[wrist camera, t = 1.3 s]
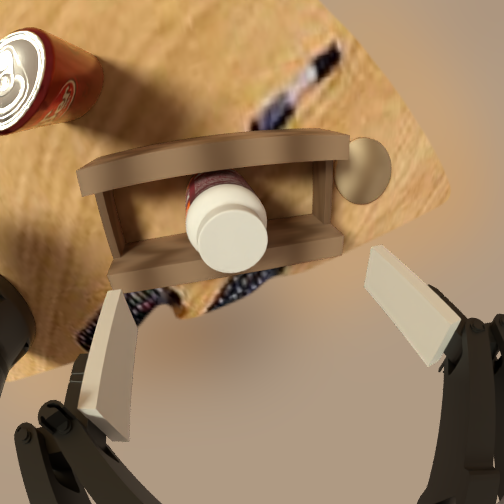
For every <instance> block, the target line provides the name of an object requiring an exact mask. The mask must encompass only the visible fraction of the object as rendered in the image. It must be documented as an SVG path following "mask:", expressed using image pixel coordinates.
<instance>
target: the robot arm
mask: <svg viewBox="0 0 504 504" xmlns="http://www.w3.org/2000/svg"><path fill="white" fill-rule="evenodd" d="M364 288H365V289H366V290H367V291H368V292H369V294H370V295H371V296H372V297H373V298H374V299H375V301H376V302H377V303H378V304H379V305H380V307H381V308H382V309H383V310H384V312H385V313H386V314H387V315H388V316H389V318H390V319H391V320H392V321H393V322H394V324H395V325H396V326H397V328H399V330H400V331H401V333H402V334H403V335H404V336H405V338H406V339H407V340H408V341H409V343H410V344H411V345H412V347H413V348H414V349H415V351H416V352H417V353H418V354H419V356H420V357H421V358H422V360H423V361H424V362H425V364H426V365H427V366H430V365H432V364H434V363H436V362H438V361H439V359H440V358H441V356H442V354H443V353H444V354H445V355H446V358H445V360H444V361H443V363H442V365H441V366H440V368H439V372H440V371H441V370H442V368H443V367H444V371H443V373H444V386H443V400H442V410H441V420H440V426H439V434H438V440H437V446H436V451H435V456H434V461H433V466H432V470H431V474H430V479H429V482H428V485H427V488H426V490H425V491H424V492H423V494H422V495H421V496H420V498H419V500H418V502H417V504H496V500H497V495H498V497H499V500H500V502H498V503H497V504H504V314H497V315H496V316H495V318H494V319H493V321H492V322H491V323H485V324H484V323H483V322H482V321H481V320H479V319H476V318H469V319H467V318H466V317H465V316H464V315H463V314H462V313H461V312H460V311H459V309H457V307H455V305H454V304H453V303H451V302H449V300H448V299H447V298H446V297H444V295H443V294H442V293H441V292H440V291H439V290H438V289H437V288H435V287H433V286H431V285H427V284H425V283H424V282H423V281H422V280H421V279H420V278H419V277H418V276H417V275H416V274H415V273H414V272H413V271H411V270H410V269H409V268H408V267H407V266H406V265H405V264H404V263H403V262H401V261H400V260H399V259H398V258H397V257H396V256H394V255H393V254H392V253H391V252H390V251H389V250H388V249H386V248H385V247H384V246H383V245H377V246H372V247H371V250H370V257H369V263H368V268H367V273H366V279H365V284H364ZM137 333H138V328H137V326H136V324H135V321H134V319H133V317H132V314H131V312H130V310H129V307H128V305H127V302H126V300H125V297H124V295H123V292H122V290H121V289H118V290H111V291H107V294H106V297H105V300H104V303H103V306H102V310H101V313H100V316H99V319H98V323H97V326H96V329H95V333H94V337H93V340H92V344H91V348H90V352H89V354H80V355H79V356H78V358H77V359H76V361H75V362H74V365H73V369H72V372H71V373H72V375H71V376H70V383H69V385H68V389H67V393H66V398H65V403H64V405H63V404H62V403H61V402H59V401H57V400H50V401H48V402H46V403H45V404H44V405H43V406H42V407H41V408H40V410H39V413H38V421H39V424H40V425H41V426H42V427H40V428H35V427H34V426H33V425H32V424H30V423H27V422H26V423H22V424H21V425H19V426H18V427H17V429H16V431H15V434H14V440H15V446H16V451H17V456H18V461H19V466H20V470H21V474H22V477H23V482H24V485H25V489H26V492H27V495H28V498H29V501H30V504H91V502H90V500H89V498H88V495H87V493H86V491H85V489H86V490H87V492H88V493H89V494H90V496H91V497H92V498H93V500H94V501H95V502H96V504H161V503H160V502H159V501H158V500H157V499H156V498H155V497H154V496H153V495H152V494H151V493H150V492H149V491H148V490H147V489H146V488H145V487H144V486H143V485H142V484H141V483H140V482H139V481H138V480H137V479H136V477H135V476H133V474H132V473H131V472H130V471H129V470H128V469H127V468H126V466H125V465H124V464H123V463H122V462H121V461H120V459H119V458H118V457H117V456H116V455H115V453H114V452H113V451H112V450H111V448H110V447H109V446H108V445H107V444H106V436H107V437H108V438H109V439H111V440H112V441H123V442H129V431H130V407H131V390H132V379H133V368H134V358H135V349H136V341H137ZM35 334H36V327H35V322H34V318H33V316H32V313H31V311H30V309H29V307H28V305H27V304H26V302H25V301H24V299H23V298H22V296H21V295H20V294H19V293H18V291H17V290H16V289H15V288H14V287H13V286H12V285H11V284H10V283H9V282H8V281H7V280H6V279H4V278H3V277H2V276H0V396H1V393H2V390H3V386H4V383H5V380H6V377H7V375H8V372H9V370H10V369H11V368H12V367H13V366H14V365H15V364H16V363H17V362H18V361H19V360H20V359H21V358H22V357H23V356H24V355H25V354H26V352H27V351H28V350H29V349H30V347H31V345H32V342H33V340H34V338H35ZM499 351H500V352H501V356H500V358H499V359H497V357H496V355H497V354H498V352H499ZM493 458H494V461H495V468H494V467H493ZM84 488H85V489H84Z"/></svg>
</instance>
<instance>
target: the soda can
mask: <svg viewBox="0 0 504 504" xmlns="http://www.w3.org/2000/svg"><path fill="white" fill-rule="evenodd" d="M103 82H104V74H103V68H102V66H101V64H100V62H99V60H98V59H97V58H96V57H95V56H94V55H92V54H91V53H89V52H87V51H85V50H83V49H81V48H79V47H77V46H75V45H73V44H71V43H69V42H67V41H65V40H63V39H61V38H59V37H57V36H54V35H52V34H50V33H48V32H46V31H43V30H41V29H38V28H35V27H27V28H23V29H19V30H16V31H14V32H12V33H10V34H9V35H7V36H6V37H5V38H3V39H2V40H1V41H0V136H3V135H9V134H13V133H17V132H20V131H25V130H29V129H33V128H38V127H42V126H47V125H52V124H58V123H63V122H69V121H73V120H75V119H77V118H80V117H81V116H83V115H84V114H86V113H87V112H88V111H89V110H90V109H91V108H92V106H93V105H94V104H95V103H96V101H97V99H98V97H99V96H100V93H101V90H102V87H103Z"/></svg>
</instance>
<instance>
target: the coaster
mask: <svg viewBox="0 0 504 504" xmlns="http://www.w3.org/2000/svg"><path fill="white" fill-rule="evenodd" d="M390 176H391V160H390V157H389V154H388V152H387V150H386V149H385V147H384V146H383V145H382V144H381V143H379V142H378V141H376V140H374V139H370V138H357V139H354V140H352V141H350V145H349V160H336V161H335V165H334V181H335V185H336V187H337V189H338V191H339V192H340V194H341V195H342V196H343V197H344V198H346V199H347V200H349V201H350V202H352V203H356V204H366V203H369V202H372V201H374V200H375V199H377V198H378V197H379V196H380V195H381V194H382V193H383V191H384V190H385V189H386V187H387V185H388V183H389V180H390Z"/></svg>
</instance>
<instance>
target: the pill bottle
mask: <svg viewBox="0 0 504 504" xmlns="http://www.w3.org/2000/svg"><path fill="white" fill-rule="evenodd" d="M266 227H267V216H266V212H265V209H264V206H263V204H262V203H261V201H260V199H259V198H258V197H257V195H256V194H255V193H254V191H253V190H252V189H251V187H250V186H249V185H248V183H247V182H246V181H245V180H244V178H243V177H242V176H241V175H240V174H239V173H238V172H237V171H236V170H234V169H224V170H216V171H209V172H202V173H196V174H195V175H194V176H193V177H192V178H191V180H190V181H189V183H188V186H187V189H186V231H187V235H188V238H189V240H190V242H191V244H192V245H193V247H194V248H195V249H196V250H197V251H198V252H199V253H200V256H201V258H202V259H203V261H204V262H205V263H206V264H207V265H208V266H209V267H211V268H212V269H214V270H216V271H219V272H223V273H237V272H241V271H244V270H247V269H249V268H250V267H252V266H253V265H255V264H256V263H257V262H258V261H259V260H260V259H261V257H262V256H263V255H264V253H265V251H266V248H267V243H268V235H267V230H266Z"/></svg>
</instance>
